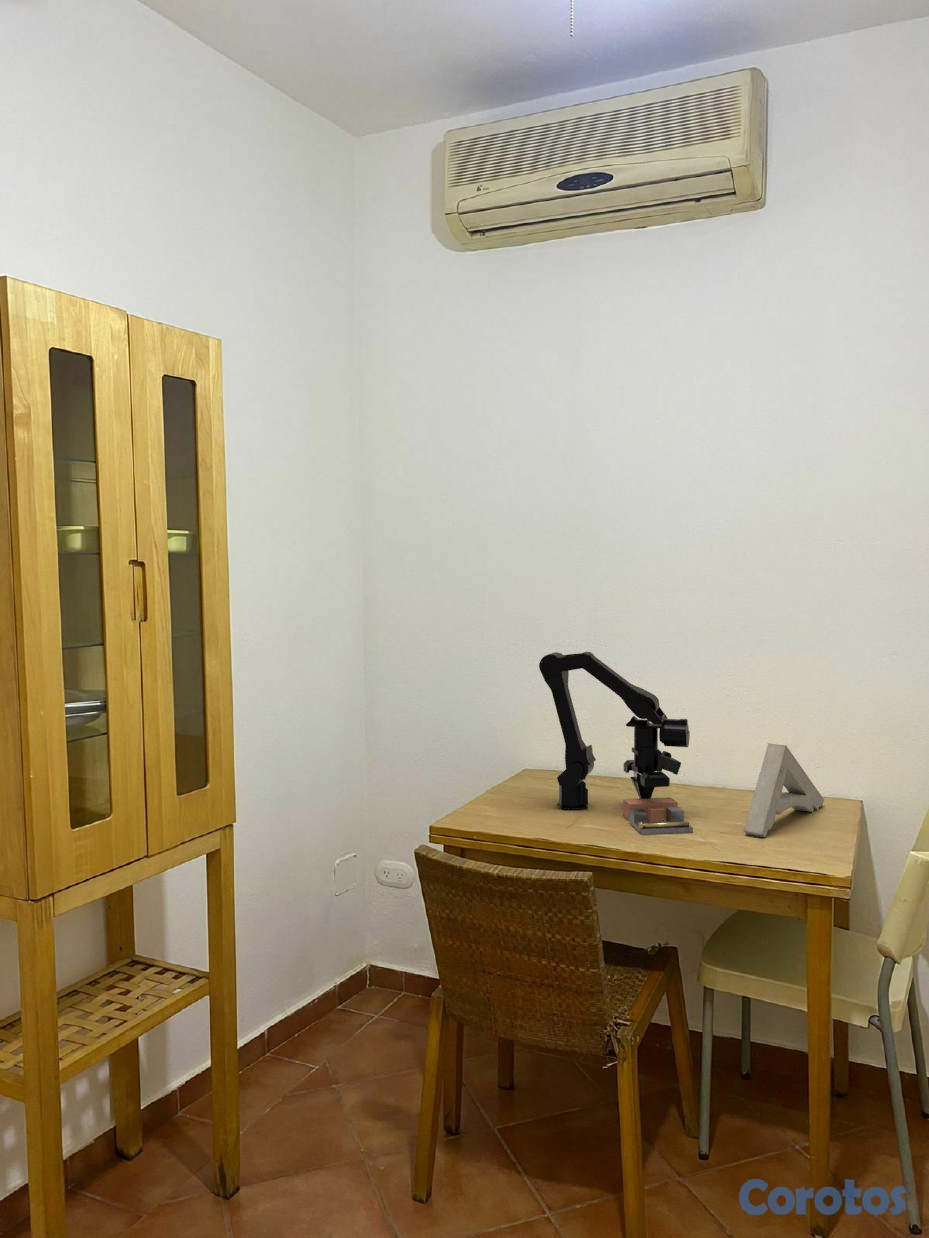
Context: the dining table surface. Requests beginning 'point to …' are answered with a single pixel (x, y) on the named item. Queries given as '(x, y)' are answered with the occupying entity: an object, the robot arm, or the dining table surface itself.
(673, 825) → the hinge pin
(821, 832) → the dining table surface
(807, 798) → the grey letter a
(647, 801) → the pink tabbed slab
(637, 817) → the fixed leaf
